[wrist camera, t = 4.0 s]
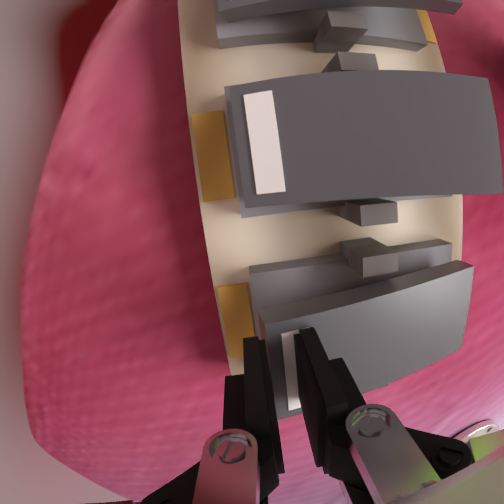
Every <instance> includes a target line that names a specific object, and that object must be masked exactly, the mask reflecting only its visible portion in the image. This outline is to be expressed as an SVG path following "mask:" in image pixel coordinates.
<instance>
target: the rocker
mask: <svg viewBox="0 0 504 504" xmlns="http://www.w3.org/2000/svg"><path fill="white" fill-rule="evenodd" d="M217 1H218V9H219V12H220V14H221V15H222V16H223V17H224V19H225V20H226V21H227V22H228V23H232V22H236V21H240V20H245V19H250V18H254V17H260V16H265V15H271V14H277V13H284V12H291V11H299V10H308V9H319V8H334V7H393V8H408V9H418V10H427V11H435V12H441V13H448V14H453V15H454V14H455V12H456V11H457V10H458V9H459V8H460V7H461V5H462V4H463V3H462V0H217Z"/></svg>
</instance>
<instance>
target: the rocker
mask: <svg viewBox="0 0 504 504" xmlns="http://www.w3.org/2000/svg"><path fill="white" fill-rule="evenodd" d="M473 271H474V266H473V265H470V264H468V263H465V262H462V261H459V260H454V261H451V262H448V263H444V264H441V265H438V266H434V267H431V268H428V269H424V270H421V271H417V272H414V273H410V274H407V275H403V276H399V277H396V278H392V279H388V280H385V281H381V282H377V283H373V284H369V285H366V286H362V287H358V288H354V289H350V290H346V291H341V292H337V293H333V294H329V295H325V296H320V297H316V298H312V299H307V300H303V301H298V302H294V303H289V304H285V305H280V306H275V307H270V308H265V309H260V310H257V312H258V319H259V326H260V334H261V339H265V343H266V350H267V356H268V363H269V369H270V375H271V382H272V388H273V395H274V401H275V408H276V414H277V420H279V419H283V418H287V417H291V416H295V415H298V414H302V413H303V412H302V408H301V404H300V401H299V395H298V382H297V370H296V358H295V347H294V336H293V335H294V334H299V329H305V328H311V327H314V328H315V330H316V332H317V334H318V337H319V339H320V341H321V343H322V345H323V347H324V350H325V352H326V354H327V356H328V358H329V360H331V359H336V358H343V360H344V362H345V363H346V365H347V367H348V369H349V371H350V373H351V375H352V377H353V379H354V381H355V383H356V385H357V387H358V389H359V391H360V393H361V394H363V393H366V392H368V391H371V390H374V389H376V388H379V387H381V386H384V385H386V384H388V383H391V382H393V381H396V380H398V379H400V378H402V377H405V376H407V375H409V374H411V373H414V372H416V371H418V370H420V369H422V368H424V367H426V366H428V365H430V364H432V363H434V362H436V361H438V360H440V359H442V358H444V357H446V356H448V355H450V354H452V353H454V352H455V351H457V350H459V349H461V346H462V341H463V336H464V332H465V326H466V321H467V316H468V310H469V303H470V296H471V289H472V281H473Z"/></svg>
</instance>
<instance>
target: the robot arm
mask: <svg viewBox="0 0 504 504" xmlns="http://www.w3.org/2000/svg"><path fill="white" fill-rule="evenodd" d="M293 336H294V347H295V358H296V370H297V382H298V395H299V401H300V404H301V408H302V412H303V416H304V420H305V424H306V428H307V432H308V436H309V440H310V444H311V448H312V452H313V456H314V460H315V464H316V467H321V466H322V467H323V471H324V474H328V473H329V476H331V477H333V478H336V479H338V480H339V483H340V486H341V489H342V491H343V494H344V496H345V498H346V501H347V503H348V504H504V429H503V430H500V431H499V426H498V425H497V424H496V422H494V421H493V420H487V421H483V422H480V423H478V424H475V425H473V426H472V427H470V428H468V429H466V430H465V431H463V432H461V433H460V434H458V435H457V436H456V437H454V438H449V437H444V436H440V435H435V434H431V433H427V432H423V431H419V430H415V429H411V428H407V427H404V426H403V424H402V423H401V422H400V420H399V419H398V417H397V416H396V415H395V413H394V412H393V411H392V410H391V409H389V408H387V407H385V406H383V405H378V404H368V405H367V404H366V402H365V400H364V399H363V397H362V395H361V393H360V391H359V389H358V387H357V385H356V383H355V381H354V379H353V377H352V375H351V373H350V371H349V369H348V367H347V365H346V363H345V362H344V360H343V358H336V359H331V360H329V358H328V356H327V354H326V352H325V350H324V347H323V345H322V343H321V341H320V339H319V337H318V334H317V332H316V330H315V328H314V327H311V328H305V329H299V334H294V335H293ZM243 358H244V374H239V375H231V376H226V377H225V390H224V412H223V430H222V431H219V432H217V433H215V434H213V435H212V436H210V437H209V439H208V440H207V441H206V442H205V445H204V447H203V451H202V456H201V461H199V462H198V463H197V464H195V465H194V466H192V467H191V468H190V469H188V470H187V471H185V472H184V473H182V474H181V475H179V476H178V477H176V478H175V479H173V480H172V481H170V482H169V483H167V484H166V485H164V486H163V487H161V488H159V489H158V490H156V491H155V492H153V493H151V494H150V495H148V496H147V497H146V498H144V499H143V500H142V502H134V501H133V500H127V501H119V502H105V503H87V504H270V495H269V494H270V493H271V492H272V491H273V490H274V489H275V488H276V487H277V486H278V485H279V476H278V474H281V473H285V470H284V463H283V456H282V449H281V442H280V435H279V428H278V421H277V414H276V408H275V401H274V395H273V388H272V382H271V375H270V369H269V363H268V356H267V350H266V343H265V339H261V340H259V337H258V336H254V337H247V338H243Z"/></svg>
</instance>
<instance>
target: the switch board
mask: <svg viewBox="0 0 504 504" xmlns="http://www.w3.org/2000/svg"><path fill="white" fill-rule="evenodd" d="M178 16H179V29H180V42H181V54H182V65H183V75H184V85H185V94H186V103H187V112H188V121H189V129H190V137H191V145H192V153H193V160H194V167H195V175H196V182H197V189H198V195H199V202H200V209H201V215H202V222H203V228H204V234H205V240H206V246H207V252H208V258H209V264H210V270H211V275H212V281H213V286H214V292H215V297H216V303H217V308H218V313H219V318H220V323H221V328H222V333H223V338H224V343H225V348H226V353H227V358H228V363H229V367H230V372H231V375H239V374H244V358H243V338H247V337H254V336H258V337H259V340H261V334H260V326H259V319H258V312H257V310H260V309H265V308H270V307H275V306H280V305H285V304H289V303H294V302H298V301H303V300H307V299H312V298H316V297H320V296H325V295H329V294H333V293H337V292H341V291H346V290H350V289H354V288H358V287H362V286H366V285H369V284H373V283H377V282H381V281H385V280H388V279H392V278H396V277H399V276H403V275H407V274H410V273H414V272H417V271H421V270H424V269H428V268H431V267H434V266H438V265H441V264H444V263H448V262H451V261H454V260H459V261H461V255H462V232H463V200H462V194H458V195H424V196H400V197H380V198H363V199H348V200H333V201H320V202H308V203H296V204H285V205H274V206H264V207H254V208H245V204H244V196H243V189H242V181H241V174H240V166H239V159H238V151H237V144H236V136H235V129H234V122H233V114H232V107H231V99H230V92H229V87H231V86H235V85H240V84H245V83H251V82H256V81H262V80H268V79H274V78H281V77H288V76H296V75H304V74H314V73H325V72H338V71H357V70H412V71H430V72H443V73H446V72H445V68H444V64H443V60H442V57H441V53H440V50H439V46H438V43H437V40H436V37H435V34H434V31H433V28H432V25H431V22H430V19H429V16H428V14H427V11H426V10H418V9H408V8H393V7H334V8H319V9H308V10H299V11H291V12H284V13H277V14H271V15H265V16H260V17H254V18H250V19H245V20H240V21H236V22H232V23H228V22H227V21H226V20H225V19H224V17H223V16H222V15H221V14H220V12H219V9H218V1H217V0H178ZM387 385H388V384H386V385H384V386H387ZM381 387H383V386H381ZM379 388H380V387H379Z"/></svg>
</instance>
